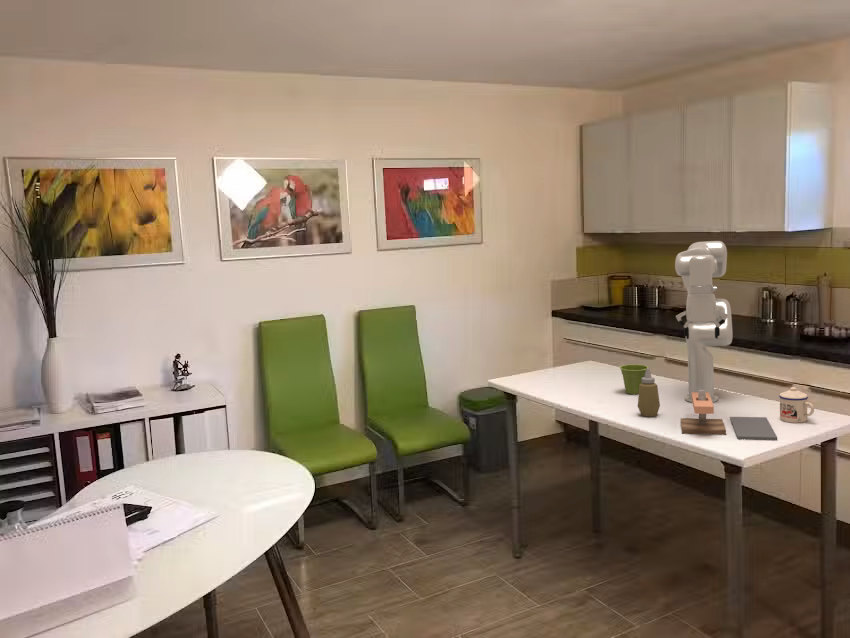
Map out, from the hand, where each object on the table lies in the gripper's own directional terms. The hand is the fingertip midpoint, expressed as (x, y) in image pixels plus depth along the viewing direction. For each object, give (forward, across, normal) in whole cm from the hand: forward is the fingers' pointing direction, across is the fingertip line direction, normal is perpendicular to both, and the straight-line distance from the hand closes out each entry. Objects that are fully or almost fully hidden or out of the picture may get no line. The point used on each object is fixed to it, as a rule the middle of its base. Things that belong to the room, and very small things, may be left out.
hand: (701, 338), depth 254 cm
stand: (+31, +1, +9) cm, 32 cm away
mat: (+31, -15, +9) cm, 35 cm away
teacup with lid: (+30, -31, -3) cm, 44 cm away
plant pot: (+29, +25, -42) cm, 57 cm away
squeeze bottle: (+30, +19, -8) cm, 36 cm away
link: (+23, +1, +9) cm, 24 cm away
